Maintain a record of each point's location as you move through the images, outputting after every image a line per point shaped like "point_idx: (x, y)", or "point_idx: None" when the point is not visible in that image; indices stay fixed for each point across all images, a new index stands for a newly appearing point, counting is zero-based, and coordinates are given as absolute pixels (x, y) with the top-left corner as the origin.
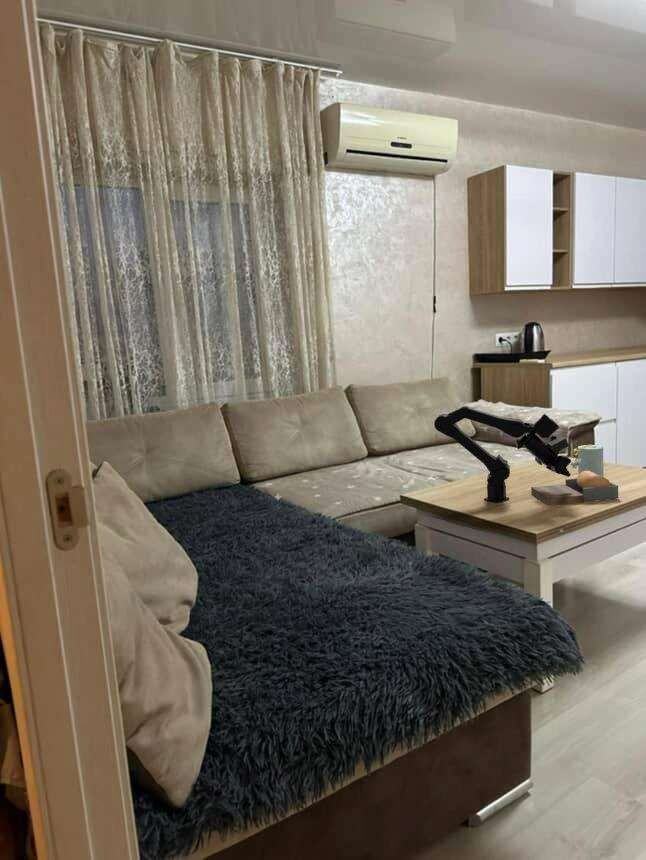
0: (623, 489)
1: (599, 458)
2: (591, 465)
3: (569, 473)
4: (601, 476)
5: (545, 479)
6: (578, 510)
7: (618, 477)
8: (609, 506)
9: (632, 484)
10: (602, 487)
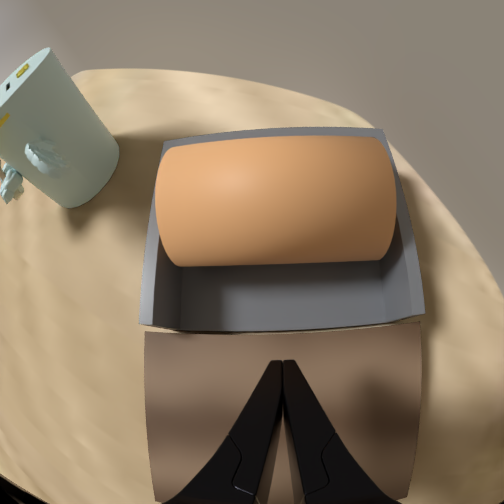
0: (232, 109)
1: (69, 84)
2: (70, 129)
3: (303, 376)
4: (347, 144)
5: (11, 306)
6: (489, 379)
7: (103, 101)
8: (464, 245)
9: (185, 81)
10: (404, 199)
